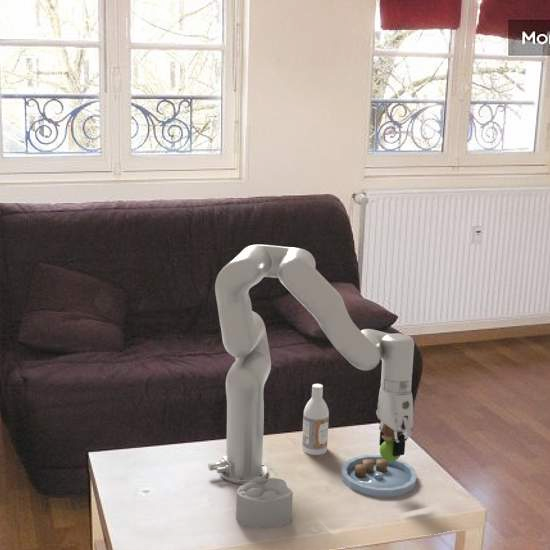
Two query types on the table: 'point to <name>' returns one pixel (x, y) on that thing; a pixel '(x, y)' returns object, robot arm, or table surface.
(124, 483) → the table surface
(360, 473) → the bead
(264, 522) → the lumpy-topped squat cylinder
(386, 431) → the snail figurine
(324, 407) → the bath foam
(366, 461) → the bead
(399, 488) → the tray
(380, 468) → the bead
